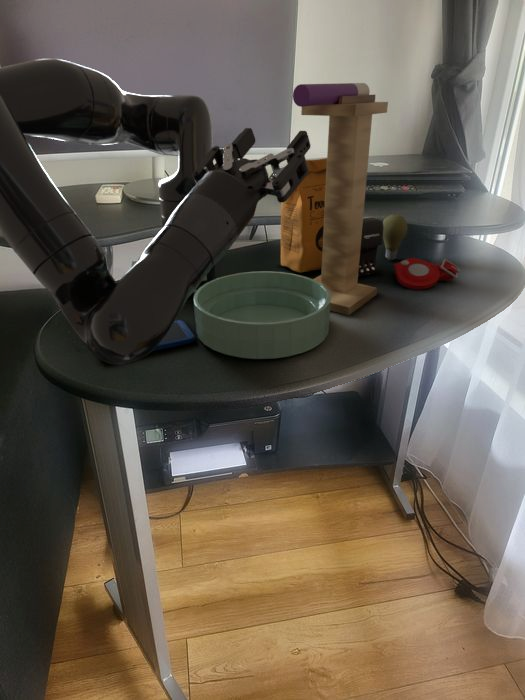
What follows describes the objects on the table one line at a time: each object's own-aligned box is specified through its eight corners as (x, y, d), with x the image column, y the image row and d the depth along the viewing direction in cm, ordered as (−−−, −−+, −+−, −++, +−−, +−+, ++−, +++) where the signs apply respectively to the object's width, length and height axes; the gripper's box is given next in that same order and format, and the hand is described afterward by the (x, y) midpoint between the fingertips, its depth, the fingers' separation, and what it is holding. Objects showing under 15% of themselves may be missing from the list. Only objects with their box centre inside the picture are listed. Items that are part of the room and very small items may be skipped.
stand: (289, 299, 88) (293, 96, 72) (320, 281, 96) (329, 94, 80) (348, 315, 82) (366, 96, 66) (376, 295, 89) (398, 94, 73)
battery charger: (353, 280, 96) (358, 223, 91) (342, 274, 99) (346, 218, 94) (381, 274, 99) (387, 218, 93) (370, 269, 102) (375, 214, 96)
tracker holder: (416, 288, 89) (383, 261, 95) (413, 306, 92) (381, 278, 98) (467, 264, 92) (431, 239, 98) (463, 282, 95) (428, 257, 101)
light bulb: (384, 254, 110) (389, 210, 105) (407, 259, 107) (413, 213, 102) (373, 260, 107) (377, 215, 102) (396, 265, 103) (402, 219, 99)
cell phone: (96, 340, 74) (95, 336, 74) (182, 323, 79) (182, 319, 79) (104, 362, 69) (103, 357, 68) (197, 341, 74) (196, 337, 73)
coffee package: (348, 269, 102) (357, 159, 91) (297, 279, 97) (300, 163, 86) (323, 256, 110) (329, 153, 99) (275, 264, 105) (275, 157, 94)
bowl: (168, 336, 76) (164, 301, 73) (250, 294, 91) (249, 263, 88) (279, 377, 65) (279, 338, 62) (352, 321, 79) (355, 287, 77)
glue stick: (305, 109, 63) (311, 88, 62) (290, 102, 64) (295, 81, 62) (366, 104, 76) (372, 86, 74) (352, 98, 77) (358, 80, 75)
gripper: (246, 203, 49) (319, 108, 55) (151, 188, 57) (224, 107, 63) (268, 254, 55) (331, 164, 61) (179, 235, 63) (244, 156, 69)
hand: (277, 135), depth 62 cm, fingers open, 8 cm apart
